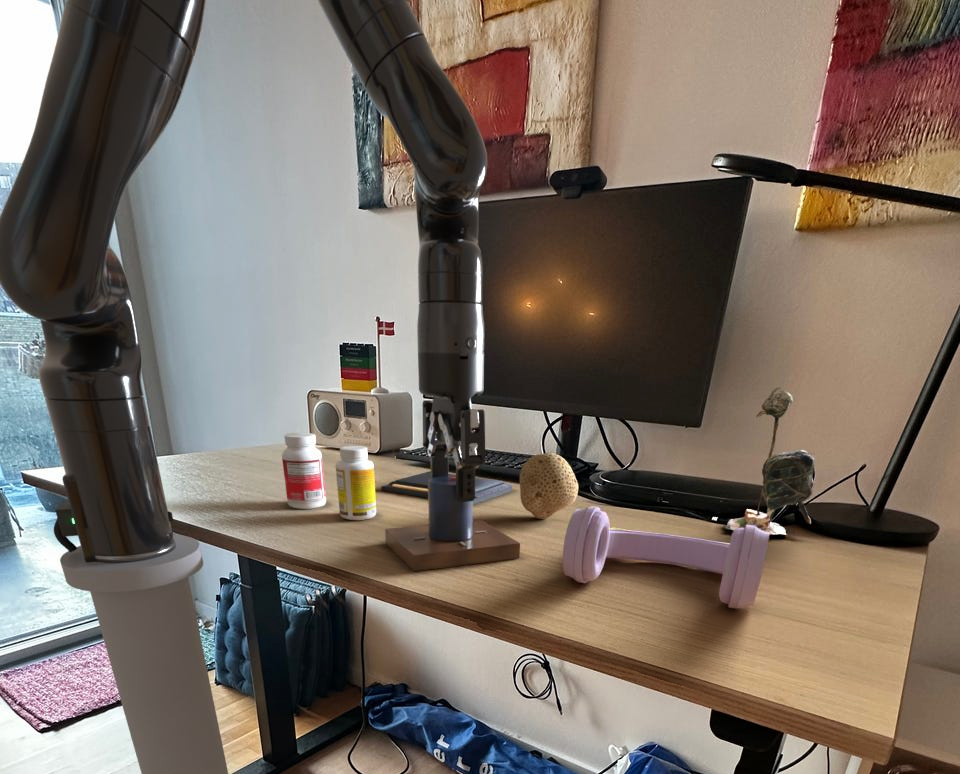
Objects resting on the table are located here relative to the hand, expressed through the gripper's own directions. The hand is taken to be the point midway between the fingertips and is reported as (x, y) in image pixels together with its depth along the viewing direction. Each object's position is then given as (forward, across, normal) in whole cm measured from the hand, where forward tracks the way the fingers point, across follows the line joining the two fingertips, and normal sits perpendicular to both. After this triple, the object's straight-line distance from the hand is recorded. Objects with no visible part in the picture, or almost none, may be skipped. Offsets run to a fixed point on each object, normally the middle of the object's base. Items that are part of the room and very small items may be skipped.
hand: (452, 493), depth 75 cm
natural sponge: (+8, -10, +20) cm, 23 cm away
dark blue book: (+8, -34, +13) cm, 37 cm away
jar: (+5, 0, 0) cm, 5 cm away
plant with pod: (+8, +8, +47) cm, 48 cm away
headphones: (+8, +18, +20) cm, 28 cm away
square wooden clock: (+7, 0, 0) cm, 7 cm away
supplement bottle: (+8, -21, -7) cm, 23 cm away
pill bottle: (+7, -31, -13) cm, 34 cm away
